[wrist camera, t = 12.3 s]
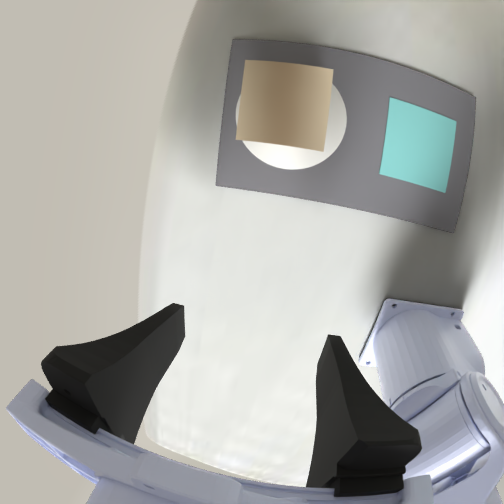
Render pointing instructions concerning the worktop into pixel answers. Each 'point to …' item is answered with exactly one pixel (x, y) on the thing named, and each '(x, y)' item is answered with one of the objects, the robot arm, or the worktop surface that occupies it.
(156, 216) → the worktop surface
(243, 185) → the mat
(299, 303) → the worktop surface
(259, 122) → the maple block
